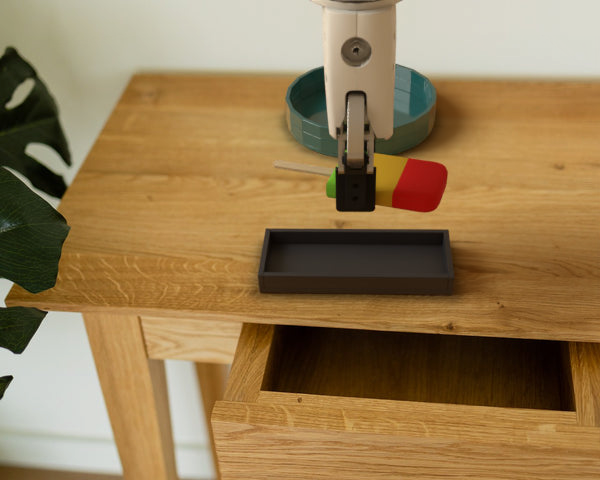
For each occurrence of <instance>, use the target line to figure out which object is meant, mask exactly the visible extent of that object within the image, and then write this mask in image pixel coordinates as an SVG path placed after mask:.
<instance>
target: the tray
mask: <svg viewBox="0 0 600 480" xmlns="http://www.w3.org/2000/svg"><path fill="white" fill-rule="evenodd" d="M451 245H452V244H451V239H450V230H449V229H448V228H447V229H437V228H436V229H435V228H434V229H433V228H431V229H430V228H427V229H426V228H425V229H424V228H422V229H421V228H287V227H285V228H276V227H275V228H274V227H272V228H270V227H268V228H266V227H265V230H264V237H263V242H262V248H261V254H260V258H259V259H260V260H259V266H258V271H257V282H258V291H259V293H260V294H261V293H262V294H263V293H264V294H332V295H333V294H336V295H337V294H339V295H346V294H347V295H413V296H416V295H417V296H421V295H422V296H453V294H454V293H453V292H454V285H455V271H454V262H453V255H452V247H451Z"/></svg>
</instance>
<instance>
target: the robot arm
mask: <svg viewBox="0 0 600 480" xmlns="http://www.w3.org/2000/svg"><path fill="white" fill-rule="evenodd" d="M402 1H403V0H310V2H311V3H313V4H316V5H319V6H321V16H322V17H321V21H322V23H321V25H322V49H323V51H322V52H323V53H322V54H323V66H324V75H325V90H326V103H327V114H328V125H329V134H330V135H331V136H332V137H333V138H334V139H336V140H337V136H338V157H337V164H338V167H336V166H335V168H336V169H335V178H336V198H335V210H336V211H337V212H339V213H372V212H374V211H375V210H376V205H375V201H376V167H373V164H374V153H375V141H376V137H377V138H385V140H388V139H389V138H390V137H391V136H392V134H393V113H394V86H395V64H396V59H397V4H399V3H400V2H402ZM343 120H344V121H343ZM346 150H347V152H345V151H346Z"/></svg>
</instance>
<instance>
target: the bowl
mask: <svg viewBox="0 0 600 480" xmlns="http://www.w3.org/2000/svg"><path fill="white" fill-rule="evenodd" d="M284 101H285V102H284V104H285V120H286V123H287V128H288V131H289V133H290V135H291V136H292V138H294V140H295V141H297V142H298V143H299V144H300V145H302V146H303V147H305V148H306V149H308V150H311V151H313V152H315V153H318V154H321V155H325V156H328V157H334V158H338V136H337V140H336V139H334V138H333V137H332V136H331V135H330V134H329V125H328V114H327V103H326V90H325V75H324V65H320V66H318V67H314V68H312V69H310V70H308V71H306V72H305V73H302V74H301V75H299V76H297V77H296V78H295V79H294V80H293V81H292V82H291V83H290V85H288V87H287V88H286V94H285V98H284ZM436 111H437V89H436V87H435V85H434V83H432V81H431V80H430V79H429V77H427V76H425V75H424V74H422V73H421V72H419V71H418V70H416V69H413V68H411V67H408V66H404V65H402V64H399V63H395V86H394V113H393V134H392V136H391V137H390V138H389V139H388V140H385V138H377V137H376V141H375V153H377V154H384V155H391V156H396V155H398V154H401V153H404V152H407V151H408V150H409V151H410V150H411V149H413V148H415V147H416V146H419V145H420V144H421V143H422V142H423V141H425V140H426V139H427V138H428V137H429V136H430V134H431V133H432V131H433V128H434V126H435V123H436ZM343 121H344V120H343Z"/></svg>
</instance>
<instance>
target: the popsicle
mask: <svg viewBox="0 0 600 480" xmlns="http://www.w3.org/2000/svg"><path fill="white" fill-rule="evenodd" d="M345 152H347V150H346V151H345ZM336 167H338V163H337V165H336V166H335V168H334V167H329V166H320V165H314V164H308V163H302V162H295V161H289V160H282V159H275V160H274V161H273V162H272V168H274V169H276V170H284V171H291V172H295V173H296V172H297V173H302V174H303V173H304V174H309V175H316V176H323V177H329V179H328V180H327V182H326V185H325V194H326V197H327V198H330V199H336V178H335V169H336ZM373 167H376V201H375V206H379V207H384V208H390V209H391V208H392V209H398V210H404V211H409V212H415V213H416V212H417V213H425V214H426V213H431V212H434V211H435V210H436V209H438V208H439V206H440V204H441V201H442V199H443V196H444V193H445V190H446V188H447V184H448V175H449V172H448V169H447V167H446V165H444V164H443V163H440V162H437V161H432V160H427V159H419V158H412V157H406V156H405V157H404V156H398V155H384V154H377V153H374V164H373Z"/></svg>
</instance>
